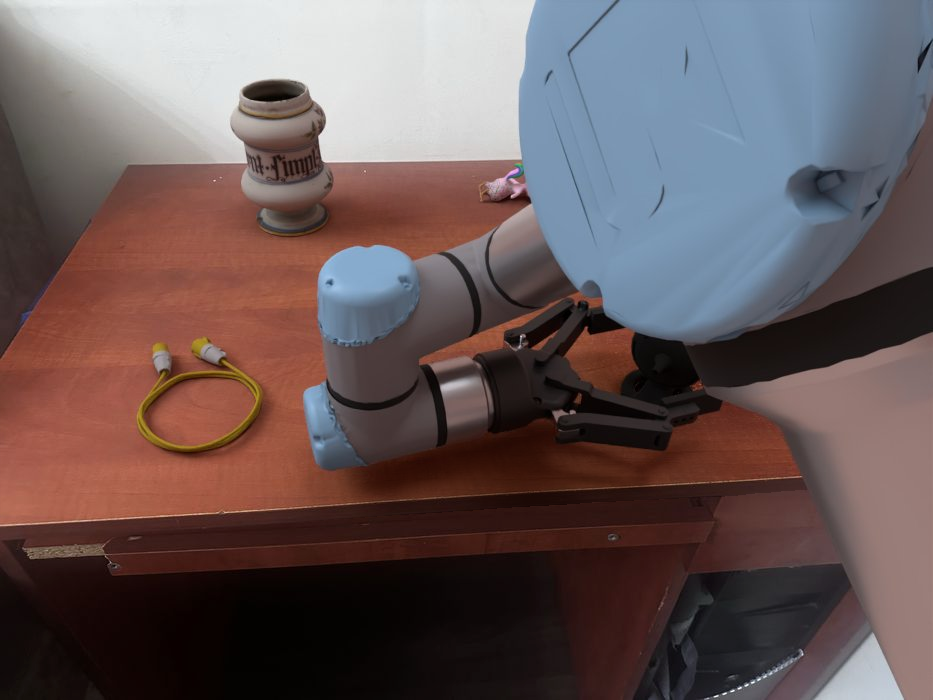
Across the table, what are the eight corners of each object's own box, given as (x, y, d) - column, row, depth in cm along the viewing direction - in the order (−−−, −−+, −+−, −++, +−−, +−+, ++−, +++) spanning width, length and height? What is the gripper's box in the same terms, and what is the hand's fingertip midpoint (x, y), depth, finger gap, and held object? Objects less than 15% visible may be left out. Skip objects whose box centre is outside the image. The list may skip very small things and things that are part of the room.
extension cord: (274, 346, 77) (271, 331, 76) (253, 454, 65) (249, 439, 64) (158, 348, 76) (154, 334, 75) (116, 459, 64) (109, 444, 63)
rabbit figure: (482, 215, 104) (584, 201, 103) (477, 178, 100) (583, 163, 99) (479, 195, 109) (576, 181, 108) (474, 159, 105) (575, 145, 104)
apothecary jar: (235, 210, 100) (210, 81, 88) (314, 190, 105) (301, 66, 93) (267, 249, 92) (245, 114, 80) (351, 226, 97) (341, 96, 86)
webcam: (705, 393, 74) (731, 317, 68) (678, 435, 69) (704, 358, 63) (636, 364, 77) (655, 289, 71) (606, 402, 73) (624, 325, 66)
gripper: (437, 343, 75) (613, 309, 81) (530, 529, 58) (747, 469, 64) (438, 285, 71) (625, 254, 77) (539, 469, 53) (773, 410, 59)
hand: (681, 351), depth 70 cm, fingers open, 13 cm apart
